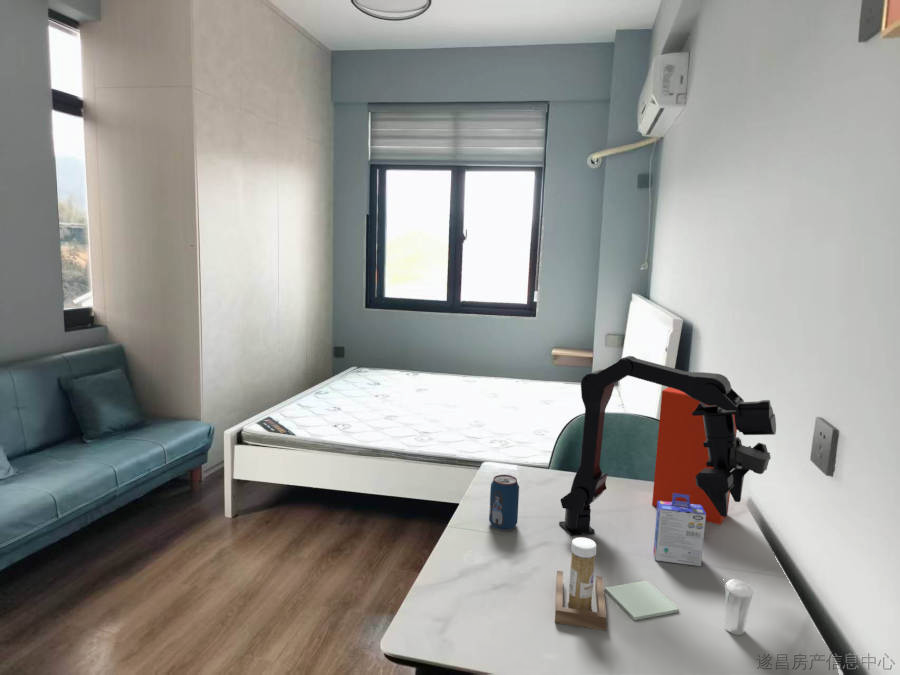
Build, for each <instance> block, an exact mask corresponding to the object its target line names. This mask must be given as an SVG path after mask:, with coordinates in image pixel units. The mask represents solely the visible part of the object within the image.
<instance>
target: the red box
mask: <svg viewBox="0 0 900 675" xmlns="http://www.w3.org/2000/svg"><path fill="white" fill-rule="evenodd" d="M660 397H661V400H660V409H659V410H660V412H659V422H658V432H657V434H658V435H657V443H656V444H657V445H656V455H655V456H656V458H655V468H654V479H653V488H652V489H653V492H652V501H651V504H652V506H654V507H656V508H657V501H664V502H672V498H673V493H676V494H684V495H689V499H690V504H696V505H702V507H703V509H704V511H705V513H706V521H705V522H708V523H711V524H715V525H718V526H721V524H722V523H723V522H724V520H725V519H726V517H727V516H726V517H723V516H721V515H720V514H719V512H718V511H717V509H716V508H715V506H714V505H713V503H712V502H711V500H710V499H709V497H708V496H707V495H706V493H705V492H704V491H703V489H700V487H698V486H696V479H695V477H696V476H697V474H698V473H699V472H701V471H702V470H703V469H704V468H713V467H707V465H706V462H707V461H708V460H709V455H708V448H707V447H704V444H703V442H705V441H706V435H705V428H704V421H703V415H699V416H693V415H692V412H693V411H695V409H696V408H697V406H698V404H699V403H701V402H700V401H697V400H695V399H693V398H691V397H690V396H688V395H687V394H685V393H684V392H682V391H680V390H677V389H674V388H670V387H667V388H664V389H663V390H662V391H661V396H660ZM703 404H704V403H703ZM705 405H706V404H705ZM706 406H711V405H706ZM713 406H716V405H713ZM733 420H734V427H735V434H736V435H737V431H738V430H737V428H736V425H735V415H734V414H733ZM730 495H731V493H730V491H728V507H730V506H729V504H730ZM675 500H676V501H684V502H686V501H687V499H685V498H682V497H678V498H675ZM728 513H729V509H728V510H727V515H728Z"/></svg>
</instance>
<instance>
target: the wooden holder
mask: <svg viewBox="0 0 900 675" xmlns="http://www.w3.org/2000/svg"><path fill="white" fill-rule="evenodd" d="M555 581H556V582H555V584H556V585H555V604H554V605H555V607H554V608H555V609H554V610H555V612H554V624H562V625H565V626H566V625H568V626H575V627H580V628H581V627H582V628H589V629H595V630H600V631H606V628H607V619H608V618H607V617H608V616H607V611H606V610H607V608H606V602H605V601H606V600H605V592H604V591H605V590H604V589H605V588H604V581H603V576H598V575H596V576H595V585H594V586H595V587H594V588H595V589H594V590H595V600H596V611H592V610H591V611H584V610H577V609H571V608H568V607H564V606H563V602H564V601H563V598H564V597H563V594H564V590H563V588H564V586H563V585H564V571H561V570H556V580H555Z"/></svg>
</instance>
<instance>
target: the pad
mask: <svg viewBox="0 0 900 675" xmlns="http://www.w3.org/2000/svg"><path fill="white" fill-rule="evenodd" d="M603 589H604V591H605V593H607V595H608V596H609V597H610V598H611V599H613V601H614V602H615V603H616V604H617V605H618V606H619V607H620V608H621V609H622V610H623V611H624V612H625V613H626V614H627V615H628V616H629V617H631V619H632V620H633V621H638V620H642V619H648V618H654V617H659V616H664V615H670V614H674V613H675V614H676V613H679V612H680V608H679V607H678V606H677V605H675V604H674V603H673V602H672V601H671V600H670V599H668V598H667V597H666V596H665V595H664V594H663V593H662V592H660V591H659V590H658V589H657V588H656V587H655V586H653V584H652V583H651V582H649V580H642V581H635V582H629V583H624V584H618V585H611V586H606V587H604V588H603Z"/></svg>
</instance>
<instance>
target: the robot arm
mask: <svg viewBox="0 0 900 675" xmlns="http://www.w3.org/2000/svg"><path fill="white" fill-rule="evenodd" d="M626 377H631V378H632V377H633V378H635V379H638V380H643V381H645V382H650V383H653V384H656V385H661V386H664V387H667V388H668V387H670V388H674V389H677V390H680V391H682V392H684V393H685V394H687V395H688V396H690V397H691V398H693V399H695V400H697V401H700V402H701V403H699V404H698V406H697V408H696V409H695V411H693V412H692V415H693V416H699V415H703V421H704V428H705V435H706V441H705V442H703V444H704V447H707V448H708V455H709V460H708V461H707V462H706V465H707V467H713V468H704V469H703V470H702V471H701V472H699V473H698V474H697V476H696V477H695V479H696V486H698V487H700V489H703V491H704V492H705V493H706V495H707V496H708V497H709V499H710V500H711V502H712V503H713V505H714V506H715V508H716V509H717V511H718V512H719V514H720V515H721V516H723V517H727V516H728V514H727V510H728V511H729V506H728V491H730V495H731V497H732V498H733V501H734V502H735V503H740V502H741V500H742V494H743V485H744V478H745V475H746V474H748V472H750V471H751V472H754V473H755V474H758V475H763V474H765V471H767V470H768V465H769V462H770V460H771V458H772V457H771V452H769V451H768V448H767V447H768V446H767V445H766V444H765V443H761V442H758V443H756V444H755V446H753V447H752V446H751V445H749V446H745V445H743V444H742V439H741V438H740V437H738V436H737V433H736V434H735V427H734V420H733V414H734V415H735V425H736V428H737V431H738V432H739V433H742V435H744V436H762V435H763V436H766V435H767V436H770V435H771V436H773V435H776V433H777V421H776V414H775V413H774V410H773V407H772V405H771V400H769V399H765V400H763V399H762V400H758V401H744V399H743V398H742V397H741V396H740V395H739V394H738V393H737V392H736V391H735V390H734V389H733V388H732V385H731V382H730V381H729V379H728V377H727V376H726V375H723V374H721V373H715V372H714V373H713V372H703V371H702V372H700V371H699V372H696V371H693V372H692V371H685V370H683V369H682V370H681V369H677V368H674V367H670V366H667V365H663V364H660V363H659V364H658V363H655V362H652V361H648V360H644V359H640V358H637V357H635V356H634V355H633V356H632V355H628V356H625V357H622V358H620V359H619V360H618V361H617V362H615V363H613V364H612V365H610V366H608V367H606V368H605V369H598V370H596V371H593V372H589V373H587V374H585V376H583V377H582V379H581V381H580V392H581V393H580V394H581V399H582V404H583V405H584V406H583V407H584V420H583V428H582V431H583V432H582V439H581V441H582V442H581V448H580V450H581V451H580V458H579V459H580V462H579V467H578V469H577V470H576V473H575V475H574V477H573V480H572V483H571V487H570V492H568V493H567V494H566V495H564V496H563V497H562V498H560V504H561V507H562V509H565V514H564V520H562V521H559V523H558V525H560V526H561V527H562V528H563V530H565V532H567V534H569V535H570V536H580V535H581V536H582V535H588V534H594V533H595V529H594V528H592V527H591V512H592V511H591V510H592V509H591V504H592V503H594V501H596V500H597V499H598V498H599V497H600V496H602V495H603V493H604V491H606V490H607V485H606V482H607V478H608V473H604V472H602V469H601V466H600V463H601V453H602V443H603V434H604V423H605V415H606V409H607V406H608V404H609V402H610V400H611V397H612V395H613V392H614V387H615V384H616V383H618V382H620V381H621V380H623V379H625V378H626ZM703 403H704V404H703ZM705 404H706V405H711V406H706V405H705ZM713 405H716V406H713Z"/></svg>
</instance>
